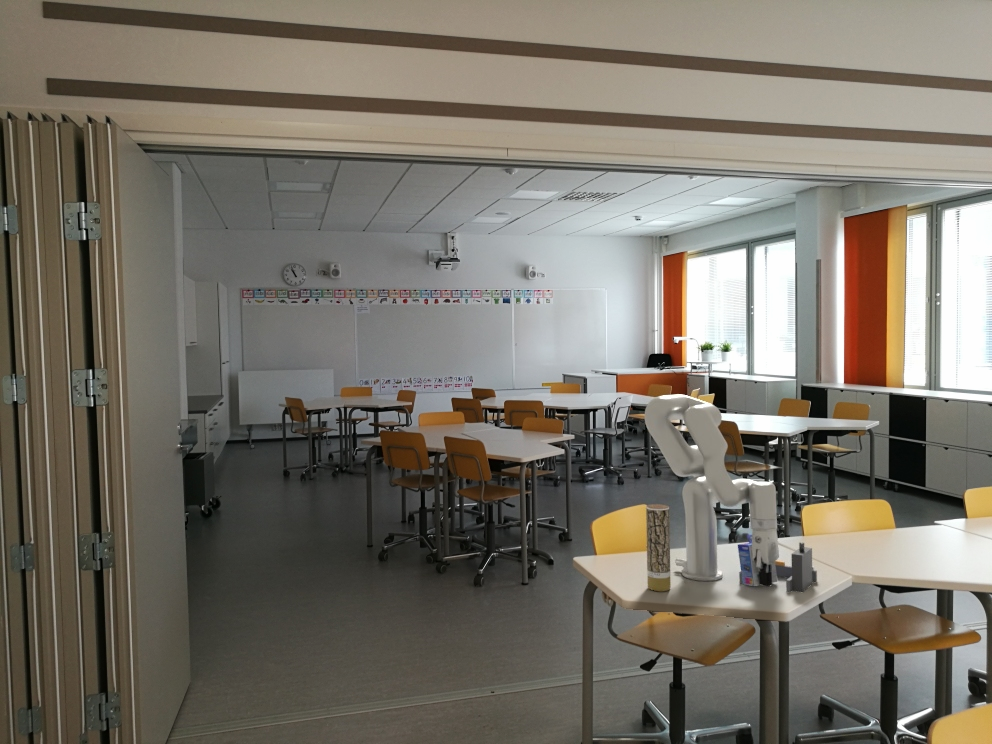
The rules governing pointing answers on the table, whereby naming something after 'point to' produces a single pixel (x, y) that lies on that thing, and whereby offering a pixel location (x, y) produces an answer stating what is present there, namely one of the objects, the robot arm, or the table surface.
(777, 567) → the grey bracket fixture
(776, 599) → the table surface
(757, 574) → the ink cartridge box
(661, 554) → the paper tube
